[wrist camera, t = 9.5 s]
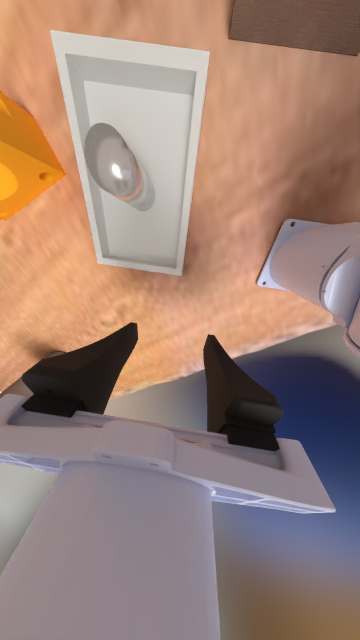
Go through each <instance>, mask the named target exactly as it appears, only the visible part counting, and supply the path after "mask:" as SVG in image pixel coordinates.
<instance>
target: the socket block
mask: <svg viewBox="0 0 360 640" xmlns="http://www.w3.org/2000/svg"><path fill="white" fill-rule="evenodd" d="M229 39H235V40H243V41H250V42H258V43H265V44H273V45H280V46H288V47H295V48H303V49H310V50H318V51H325V52H333V53H340V54H348V55H355V56H357V55H358V53H359V52H360V0H235V3H234V9H233V15H232V21H231V27H230V33H229Z"/></svg>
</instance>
